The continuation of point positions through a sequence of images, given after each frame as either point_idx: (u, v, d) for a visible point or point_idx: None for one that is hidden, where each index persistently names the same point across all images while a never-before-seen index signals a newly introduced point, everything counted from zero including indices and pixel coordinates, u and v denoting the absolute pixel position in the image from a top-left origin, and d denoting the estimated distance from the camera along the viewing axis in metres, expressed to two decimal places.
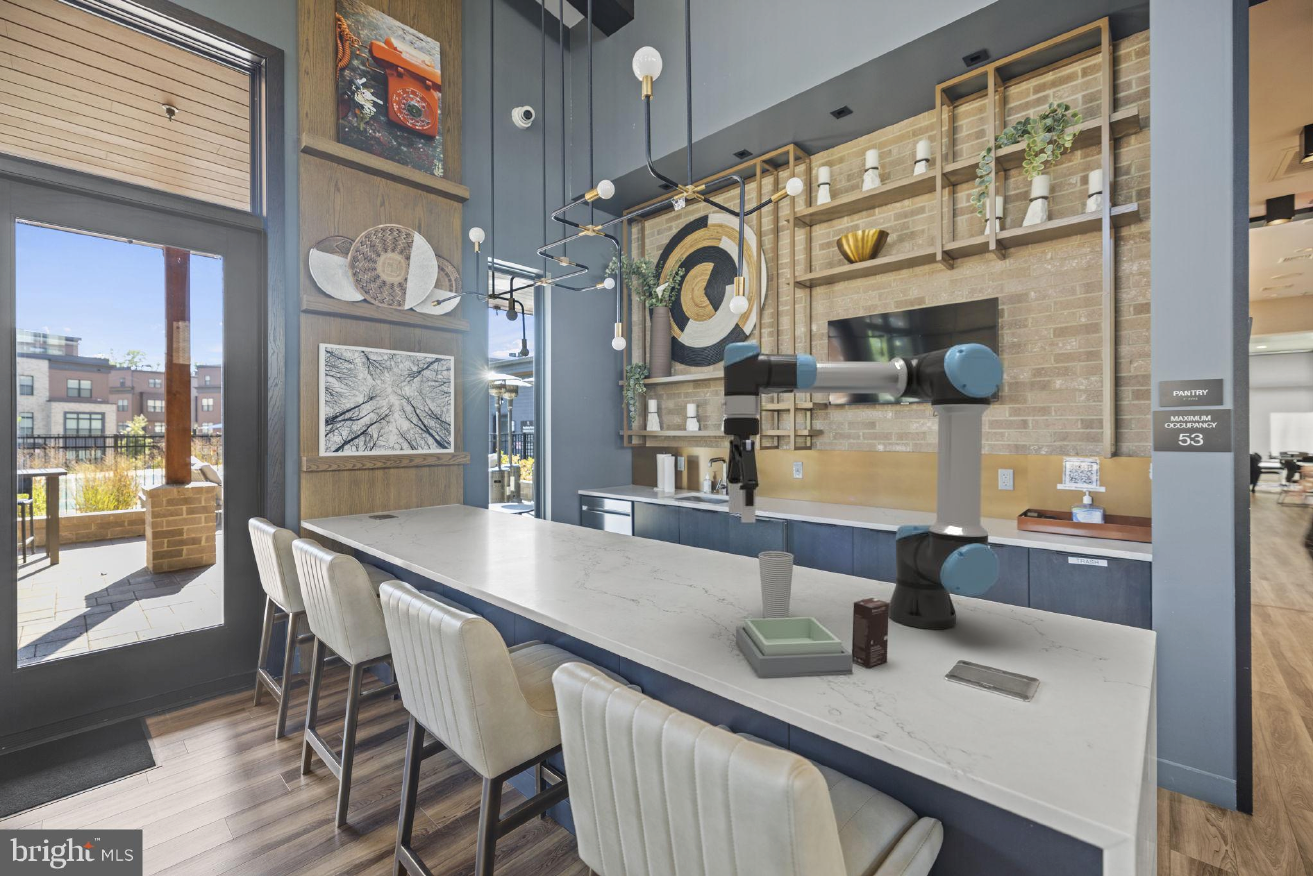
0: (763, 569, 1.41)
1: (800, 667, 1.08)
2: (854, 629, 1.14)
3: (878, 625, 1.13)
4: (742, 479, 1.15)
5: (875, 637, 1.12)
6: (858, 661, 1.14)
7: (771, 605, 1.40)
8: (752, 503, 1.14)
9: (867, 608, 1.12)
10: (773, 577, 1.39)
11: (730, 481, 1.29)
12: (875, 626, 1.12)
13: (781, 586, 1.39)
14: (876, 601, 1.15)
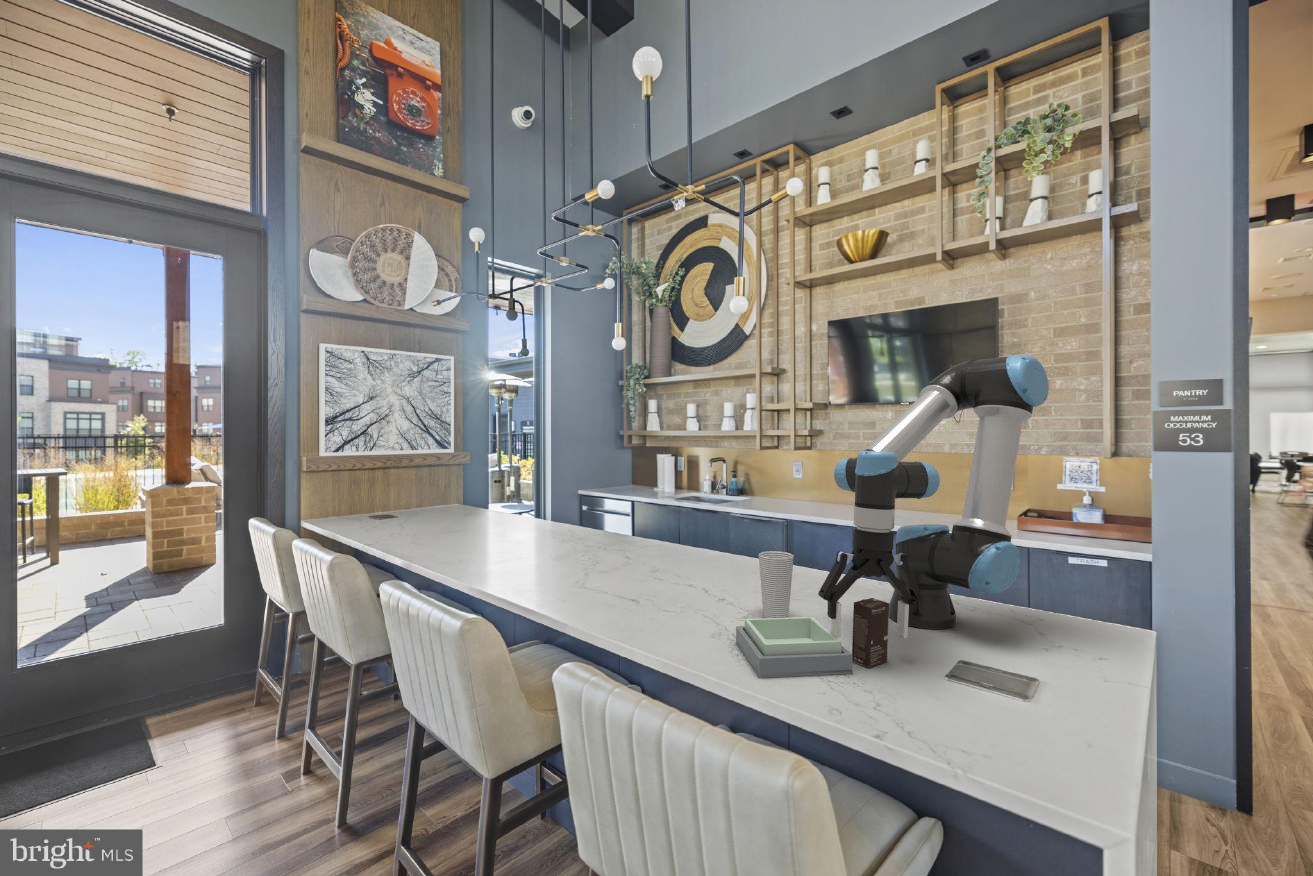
0: (763, 569, 1.41)
1: (800, 667, 1.08)
2: (854, 629, 1.14)
3: (878, 625, 1.13)
4: None
5: (875, 637, 1.12)
6: (858, 661, 1.14)
7: (771, 605, 1.40)
8: (829, 615, 1.13)
9: (867, 608, 1.12)
10: (773, 577, 1.39)
11: (902, 599, 1.16)
12: (875, 626, 1.12)
13: (781, 586, 1.39)
14: (876, 601, 1.15)
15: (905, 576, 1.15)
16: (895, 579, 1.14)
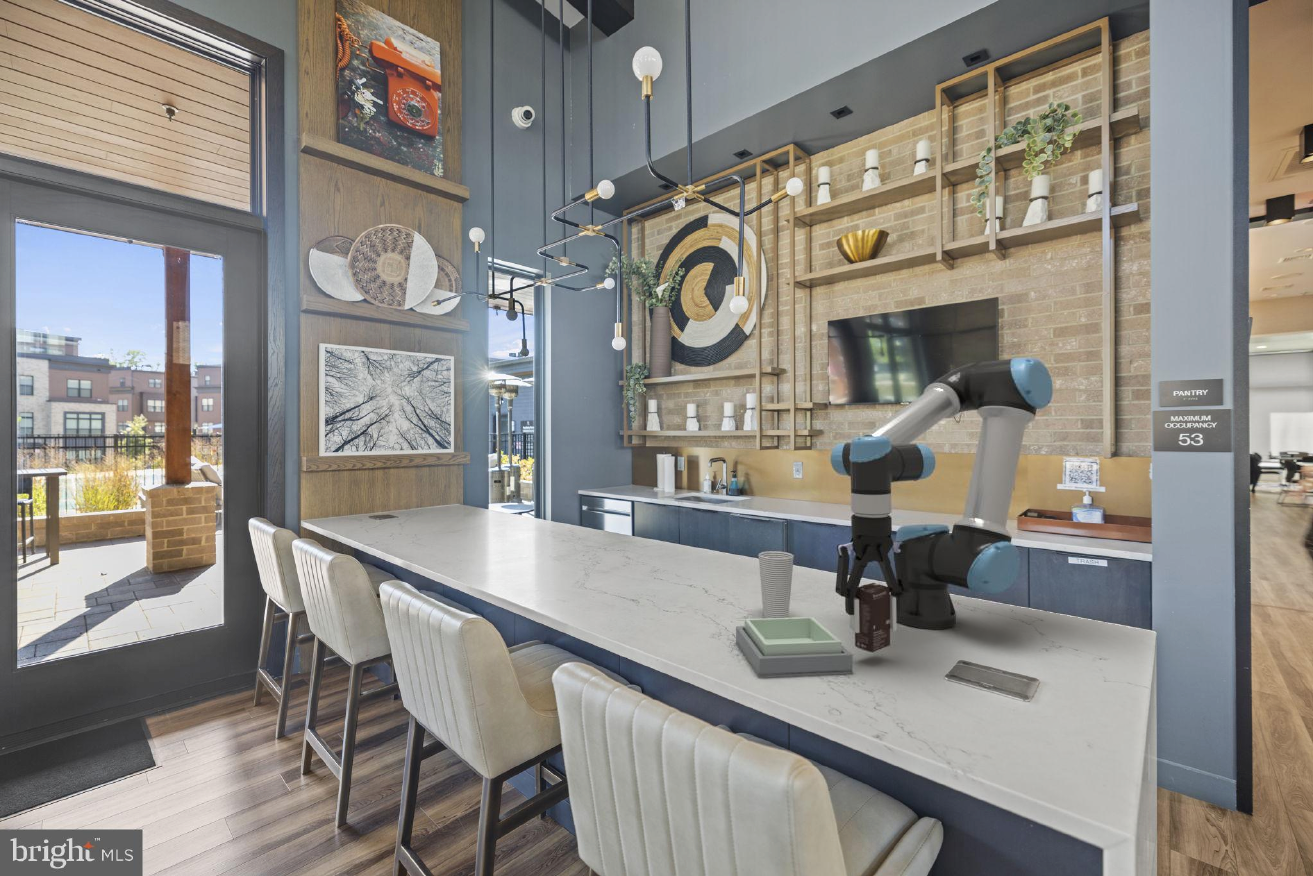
0: (763, 569, 1.41)
1: (800, 667, 1.08)
2: None
3: (880, 610, 1.13)
4: None
5: (878, 622, 1.13)
6: (861, 646, 1.14)
7: (771, 605, 1.40)
8: (847, 611, 1.14)
9: (868, 593, 1.12)
10: (773, 577, 1.39)
11: None
12: (877, 611, 1.13)
13: (781, 586, 1.39)
14: (877, 586, 1.15)
15: (898, 565, 1.15)
16: (889, 568, 1.14)
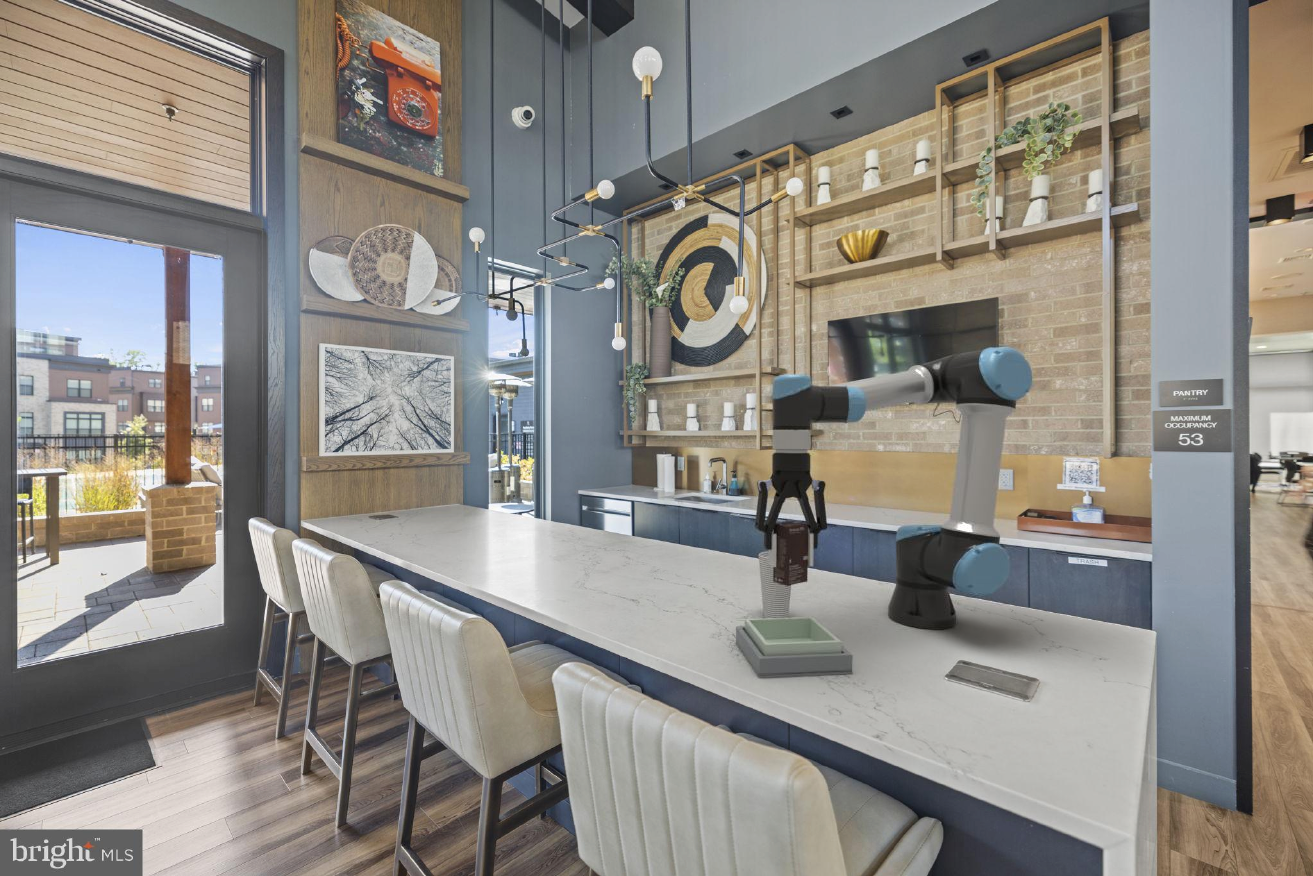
0: (763, 569, 1.41)
1: (800, 667, 1.08)
2: None
3: (797, 545, 1.15)
4: None
5: (794, 556, 1.15)
6: (778, 581, 1.16)
7: (771, 605, 1.40)
8: (765, 546, 1.16)
9: (785, 528, 1.14)
10: None
11: (808, 528, 1.18)
12: (794, 545, 1.15)
13: (781, 586, 1.39)
14: (796, 523, 1.17)
15: (817, 503, 1.17)
16: (807, 504, 1.16)
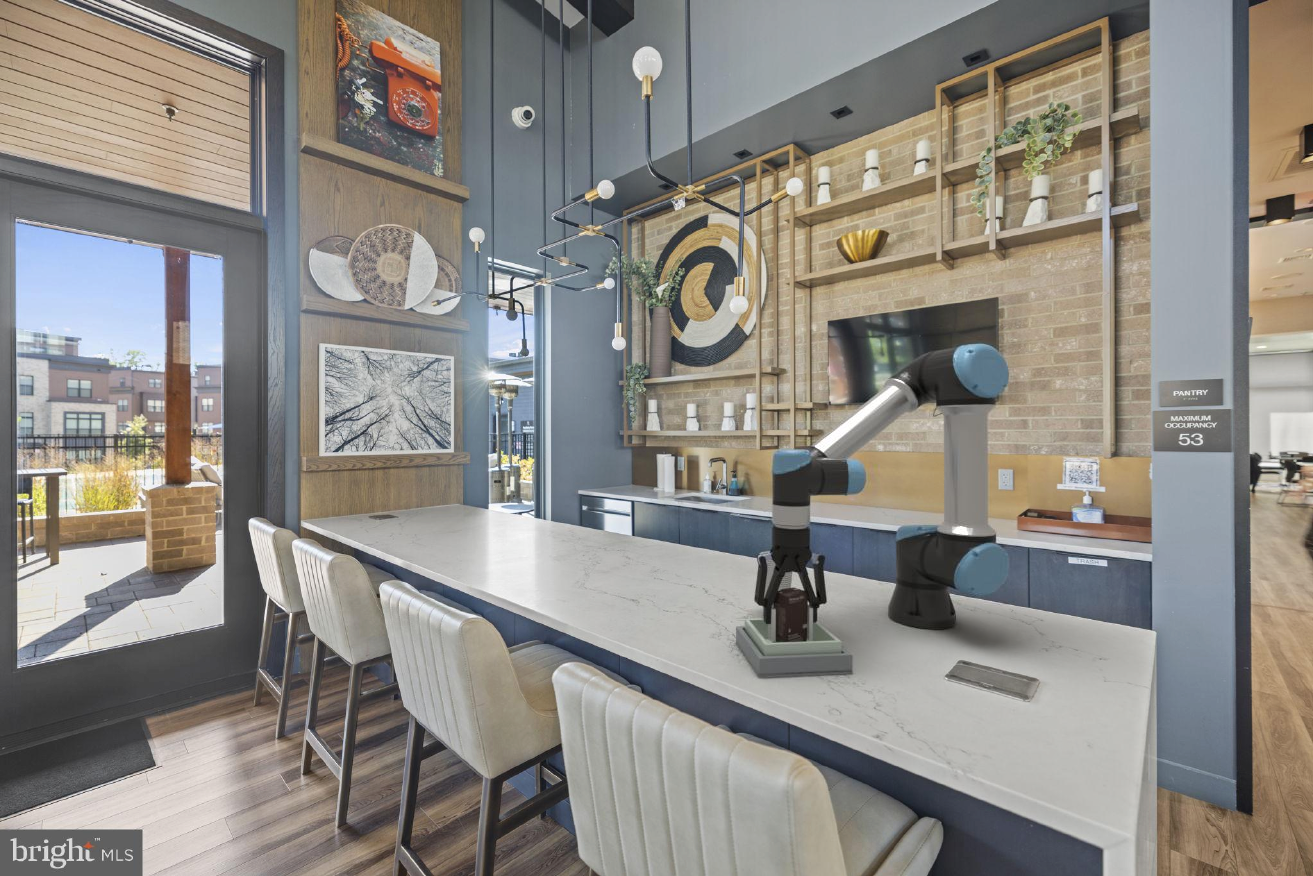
0: None
1: (800, 667, 1.08)
2: None
3: (796, 614, 1.15)
4: None
5: (793, 625, 1.15)
6: None
7: None
8: (765, 621, 1.16)
9: (785, 597, 1.14)
10: None
11: (808, 601, 1.18)
12: (793, 614, 1.15)
13: (781, 586, 1.39)
14: (796, 590, 1.18)
15: (816, 577, 1.17)
16: (807, 578, 1.16)
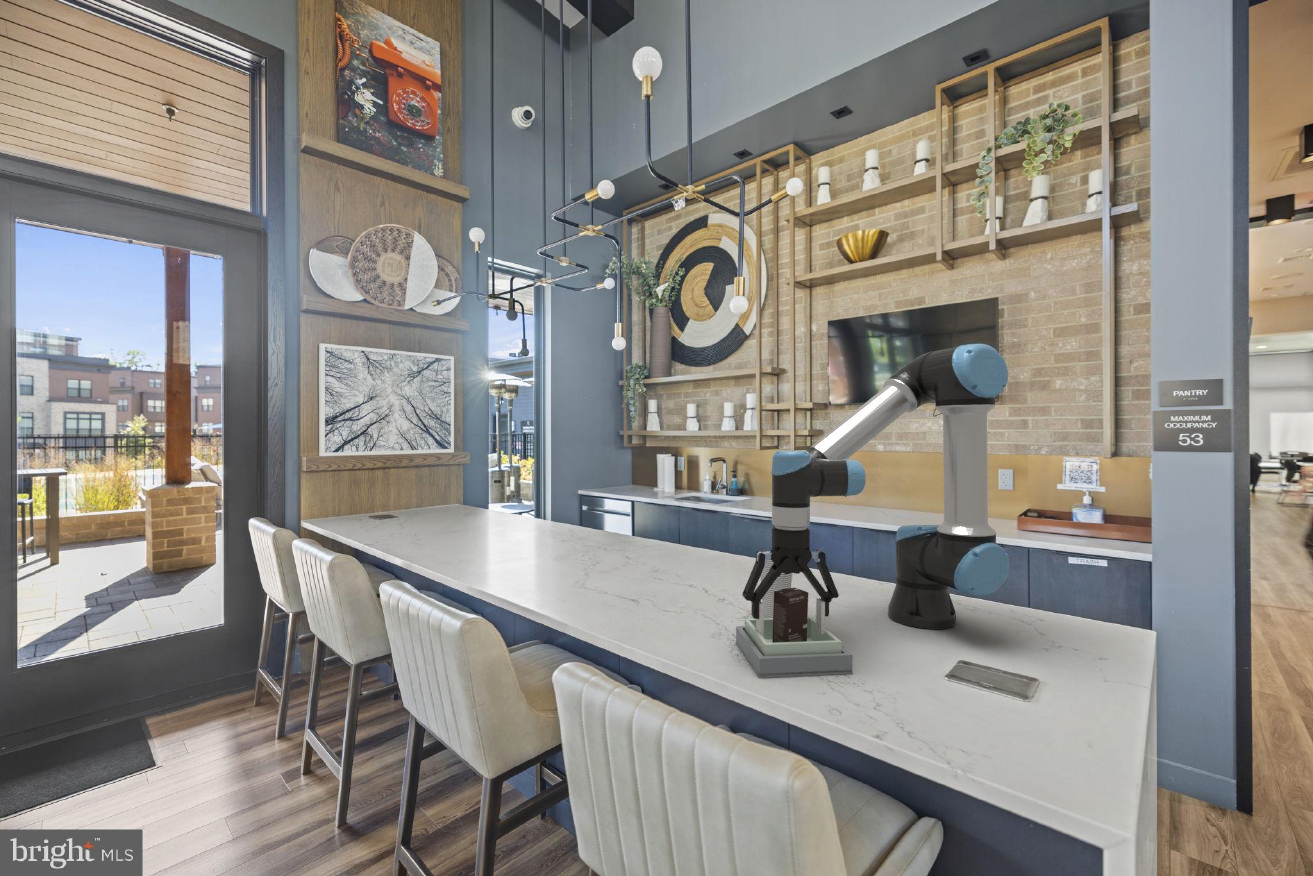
0: (763, 569, 1.41)
1: (800, 667, 1.08)
2: (774, 618, 1.17)
3: (796, 614, 1.15)
4: None
5: (794, 625, 1.15)
6: None
7: (771, 605, 1.40)
8: (753, 615, 1.16)
9: (785, 597, 1.14)
10: None
11: (820, 596, 1.19)
12: (793, 614, 1.15)
13: (781, 586, 1.39)
14: (796, 590, 1.18)
15: (822, 573, 1.18)
16: (812, 576, 1.16)
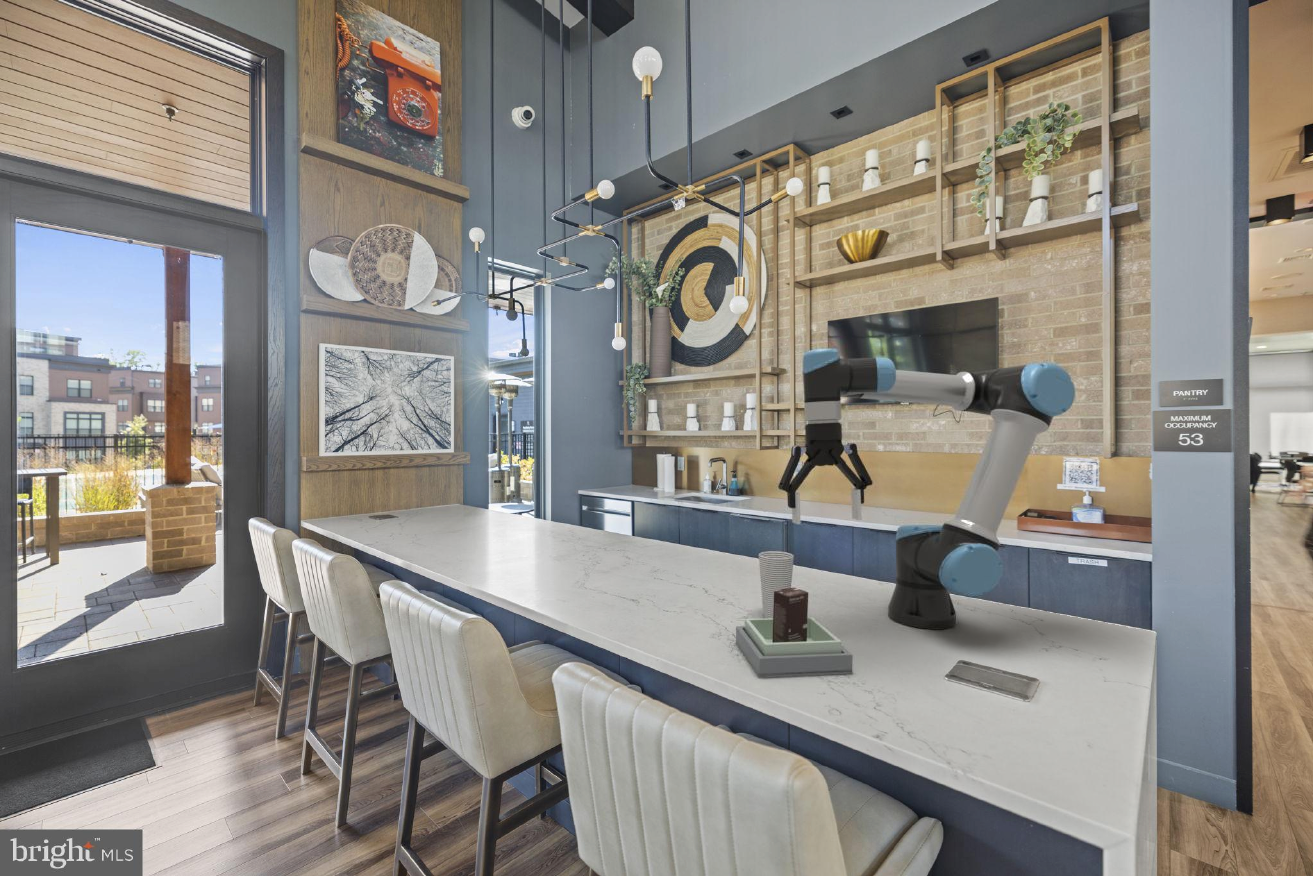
0: (763, 569, 1.41)
1: (800, 667, 1.08)
2: (774, 618, 1.17)
3: (796, 614, 1.15)
4: None
5: (794, 625, 1.15)
6: None
7: (771, 605, 1.40)
8: (789, 505, 1.22)
9: (785, 597, 1.14)
10: (773, 577, 1.39)
11: (854, 486, 1.26)
12: (793, 614, 1.15)
13: (781, 586, 1.39)
14: (796, 590, 1.18)
15: (855, 464, 1.24)
16: (846, 466, 1.23)
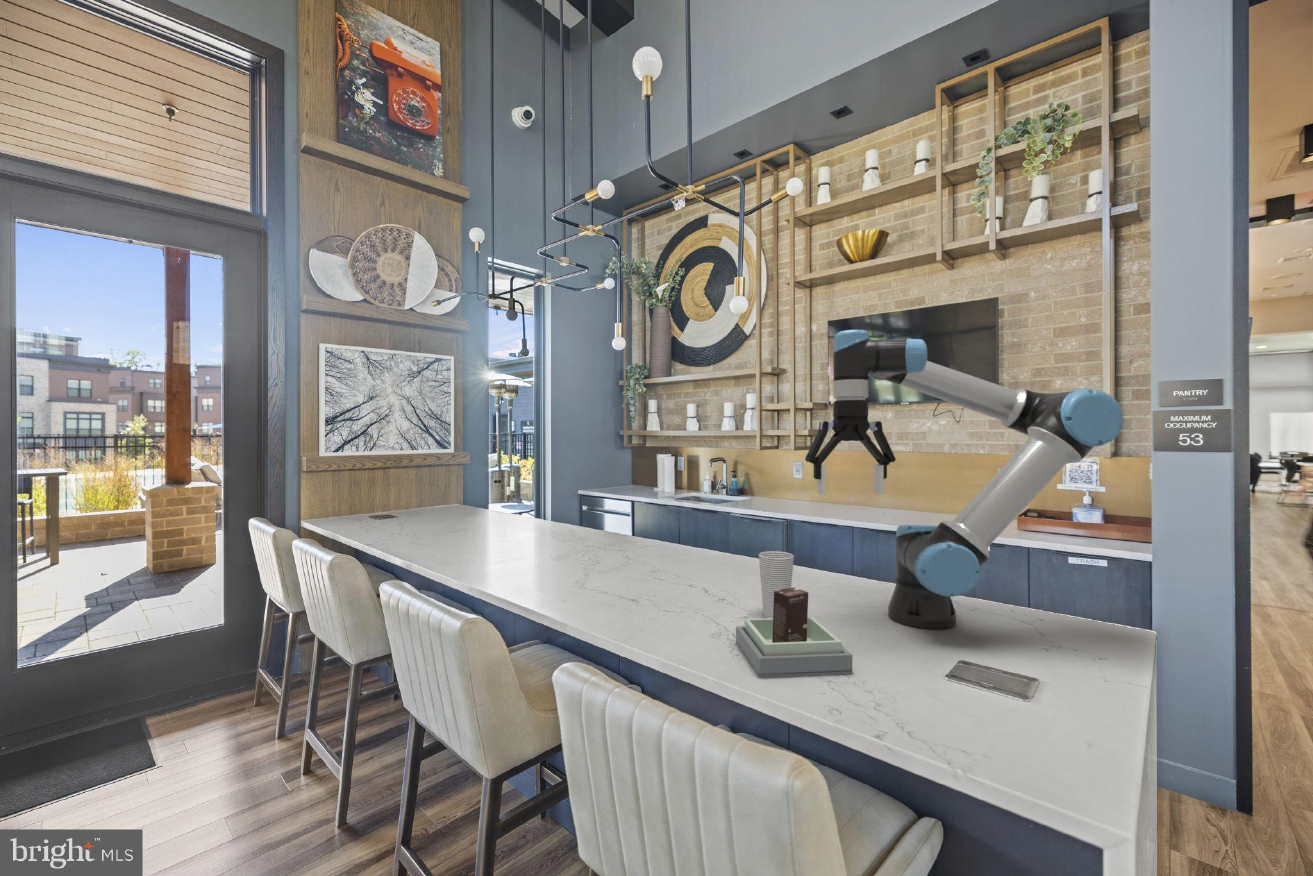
0: (763, 569, 1.41)
1: (800, 667, 1.08)
2: (774, 618, 1.17)
3: (796, 614, 1.15)
4: None
5: (794, 625, 1.15)
6: None
7: (771, 605, 1.40)
8: (815, 476, 1.29)
9: (785, 597, 1.14)
10: (773, 577, 1.39)
11: (878, 462, 1.32)
12: (793, 614, 1.15)
13: (781, 586, 1.39)
14: (796, 590, 1.18)
15: (879, 441, 1.31)
16: (871, 443, 1.30)
